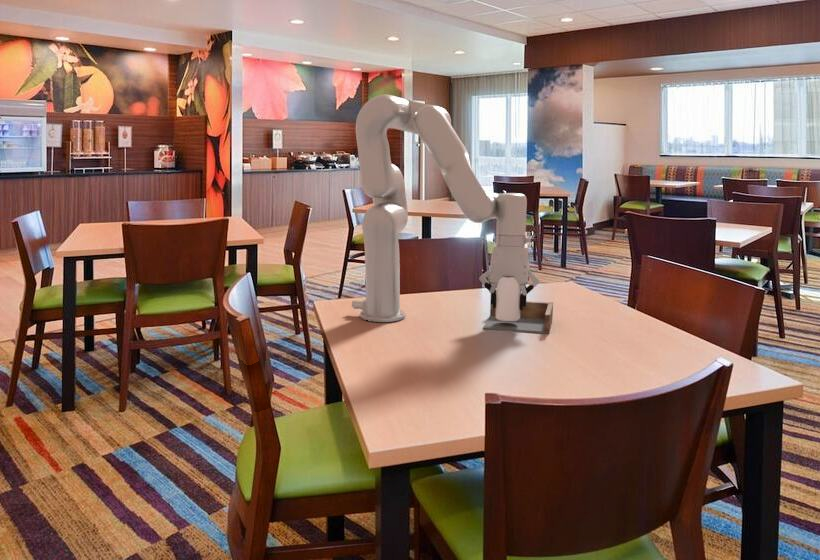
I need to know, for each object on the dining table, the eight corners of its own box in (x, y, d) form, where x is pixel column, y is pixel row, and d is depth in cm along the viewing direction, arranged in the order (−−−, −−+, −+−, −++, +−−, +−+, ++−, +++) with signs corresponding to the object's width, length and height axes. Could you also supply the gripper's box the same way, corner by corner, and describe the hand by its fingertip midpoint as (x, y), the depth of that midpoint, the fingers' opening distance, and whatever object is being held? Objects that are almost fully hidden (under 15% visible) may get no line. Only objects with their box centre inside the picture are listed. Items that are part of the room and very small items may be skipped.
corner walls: (482, 329, 175) (483, 310, 174) (490, 316, 188) (491, 298, 187) (549, 333, 170) (550, 314, 169) (552, 320, 184) (553, 302, 183)
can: (494, 321, 175) (495, 276, 173) (496, 315, 181) (497, 272, 179) (519, 323, 174) (521, 277, 172) (520, 316, 180) (522, 273, 178)
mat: (482, 329, 175) (483, 327, 175) (490, 316, 188) (490, 314, 188) (549, 333, 170) (549, 331, 170) (552, 320, 184) (552, 318, 184)
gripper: (545, 240, 175) (542, 307, 178) (479, 237, 179) (477, 302, 183) (543, 244, 168) (540, 313, 171) (475, 241, 172) (473, 309, 176)
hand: (508, 307), depth 177 cm, fingers closed on can, 6 cm apart
